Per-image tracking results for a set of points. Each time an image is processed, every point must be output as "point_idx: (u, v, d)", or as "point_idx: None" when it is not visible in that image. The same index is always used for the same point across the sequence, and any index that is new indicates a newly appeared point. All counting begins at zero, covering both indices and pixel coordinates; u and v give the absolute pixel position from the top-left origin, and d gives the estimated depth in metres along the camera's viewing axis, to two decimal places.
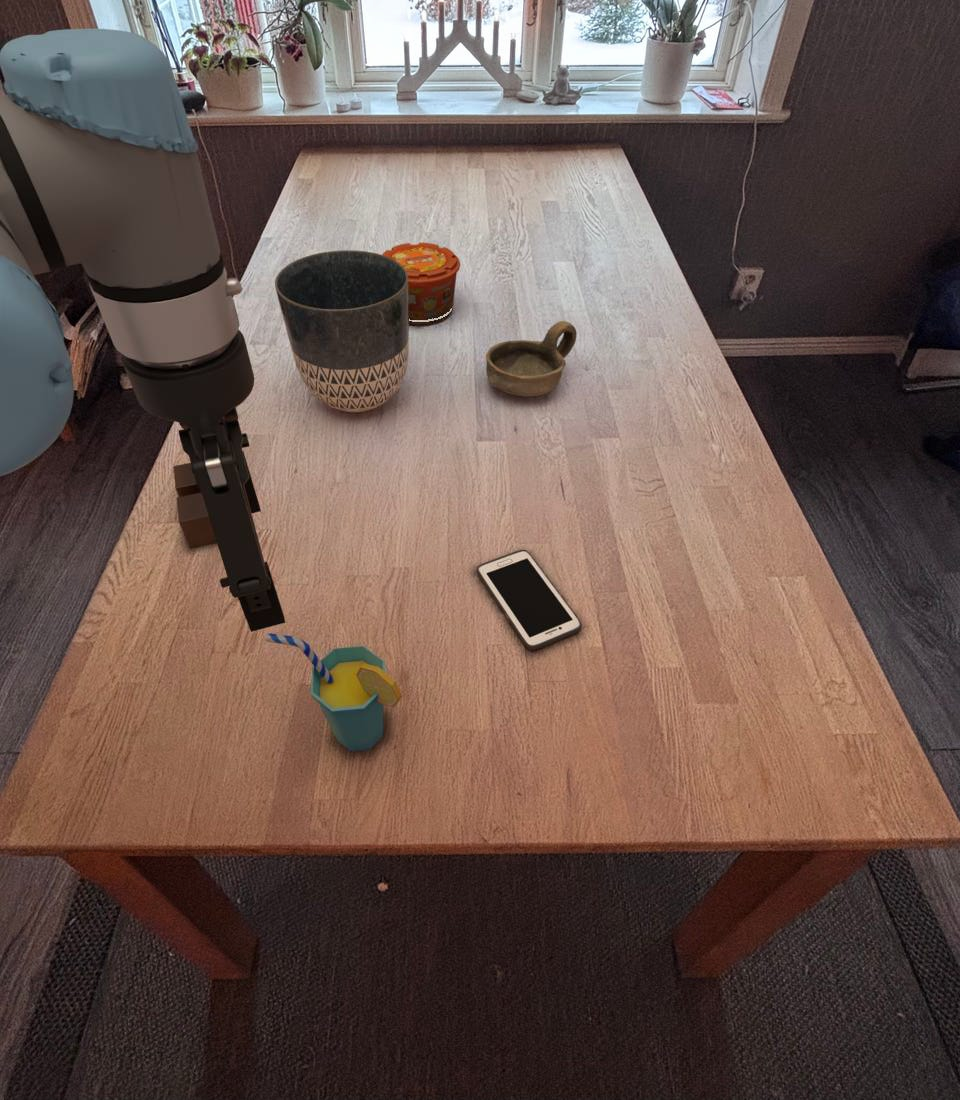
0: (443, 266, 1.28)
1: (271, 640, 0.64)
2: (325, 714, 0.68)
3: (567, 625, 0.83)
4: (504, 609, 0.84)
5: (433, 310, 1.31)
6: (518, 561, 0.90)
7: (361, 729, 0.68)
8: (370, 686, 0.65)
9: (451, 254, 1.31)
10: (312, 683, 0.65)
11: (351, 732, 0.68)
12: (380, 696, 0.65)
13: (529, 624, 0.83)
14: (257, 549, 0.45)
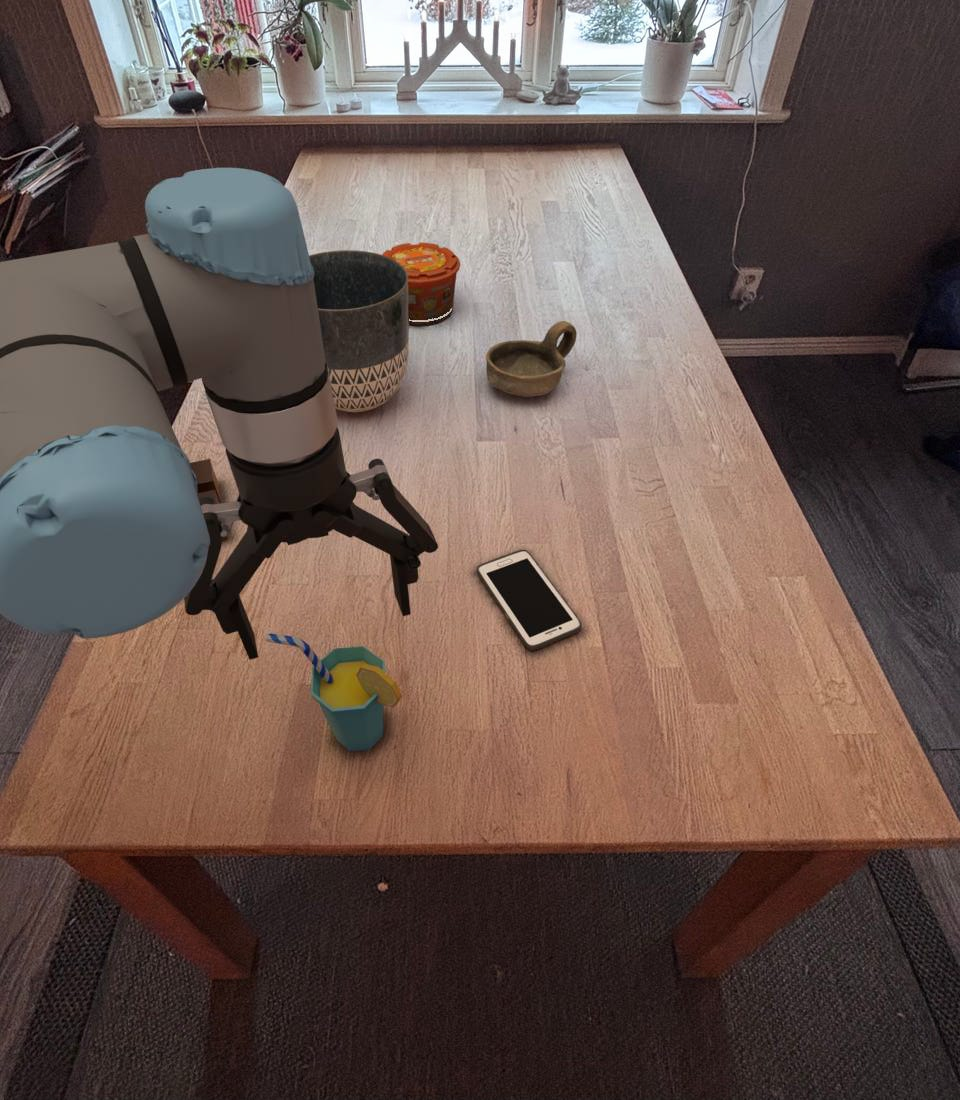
0: (443, 266, 1.28)
1: (271, 640, 0.64)
2: (325, 714, 0.68)
3: (567, 625, 0.83)
4: (504, 609, 0.84)
5: (433, 310, 1.31)
6: (518, 561, 0.90)
7: (361, 729, 0.68)
8: (370, 686, 0.65)
9: (451, 254, 1.31)
10: (312, 683, 0.65)
11: (351, 733, 0.68)
12: (380, 696, 0.65)
13: (529, 624, 0.83)
14: (414, 509, 0.56)
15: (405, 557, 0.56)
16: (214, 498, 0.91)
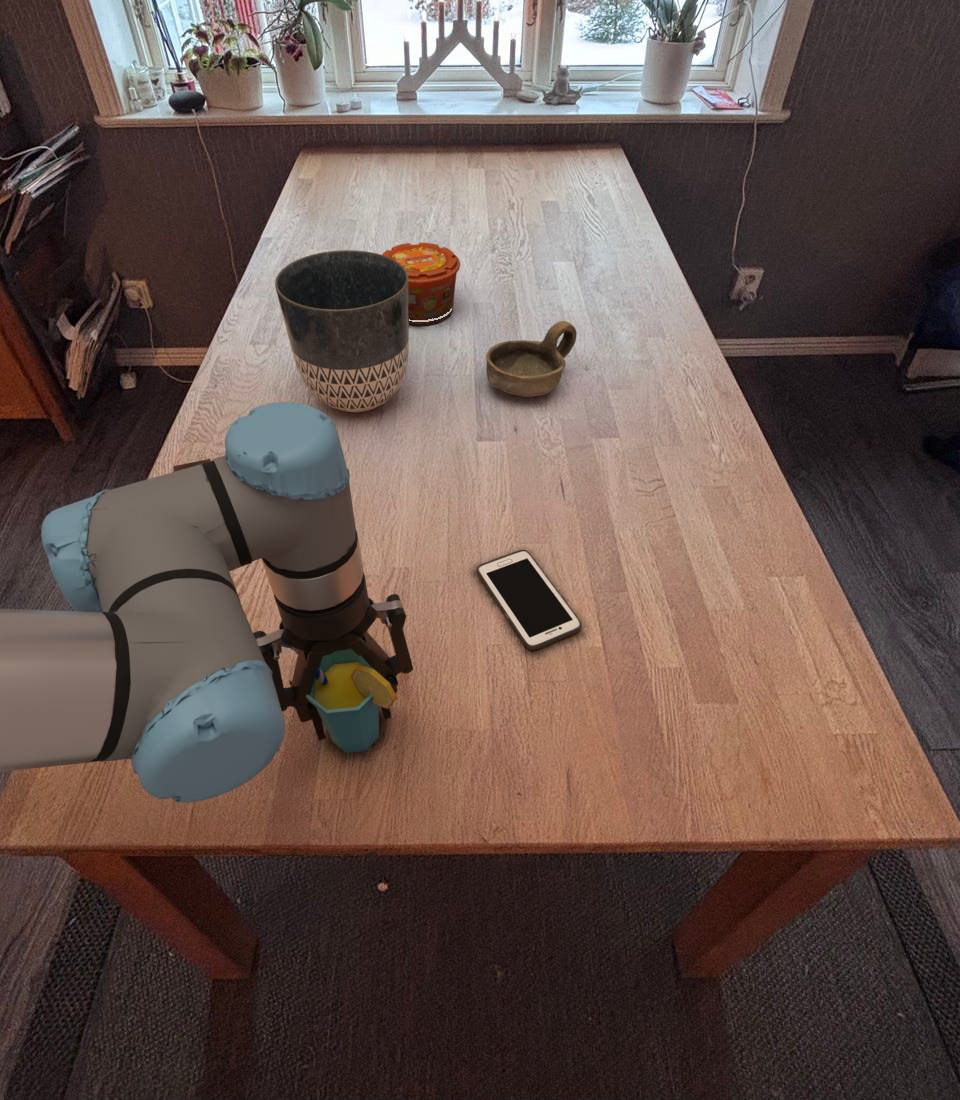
0: (443, 266, 1.28)
1: None
2: (320, 716, 0.68)
3: (567, 625, 0.83)
4: (504, 609, 0.84)
5: (433, 310, 1.31)
6: (518, 561, 0.90)
7: (356, 730, 0.68)
8: (365, 687, 0.65)
9: (451, 254, 1.31)
10: None
11: (347, 734, 0.68)
12: (375, 697, 0.65)
13: (529, 624, 0.83)
14: None
15: (386, 677, 0.67)
16: None
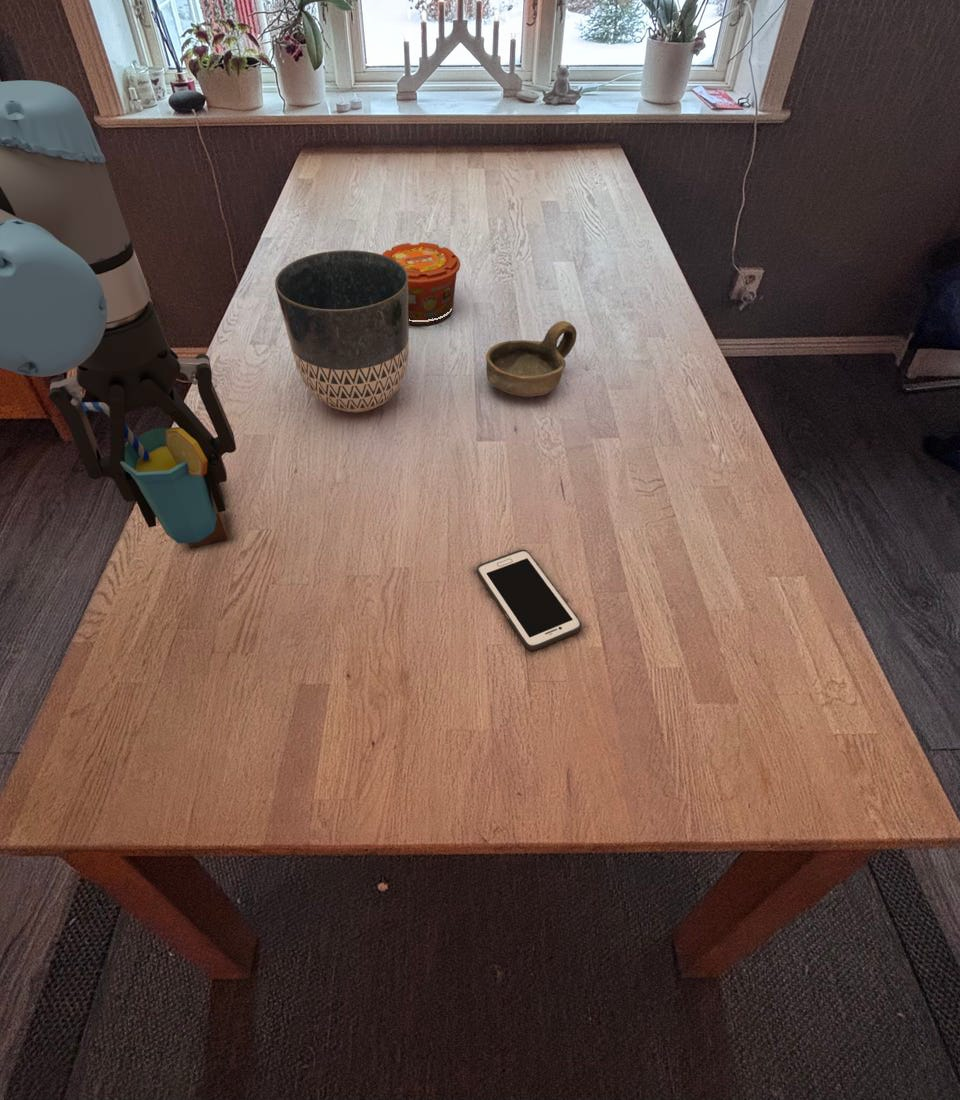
0: (443, 266, 1.28)
1: None
2: (143, 493, 0.68)
3: (567, 625, 0.83)
4: (504, 609, 0.84)
5: (433, 310, 1.31)
6: (518, 561, 0.90)
7: (179, 508, 0.68)
8: (179, 455, 0.65)
9: (451, 254, 1.31)
10: None
11: (170, 513, 0.69)
12: (189, 465, 0.65)
13: (529, 624, 0.83)
14: (224, 412, 0.68)
15: (208, 453, 0.68)
16: None
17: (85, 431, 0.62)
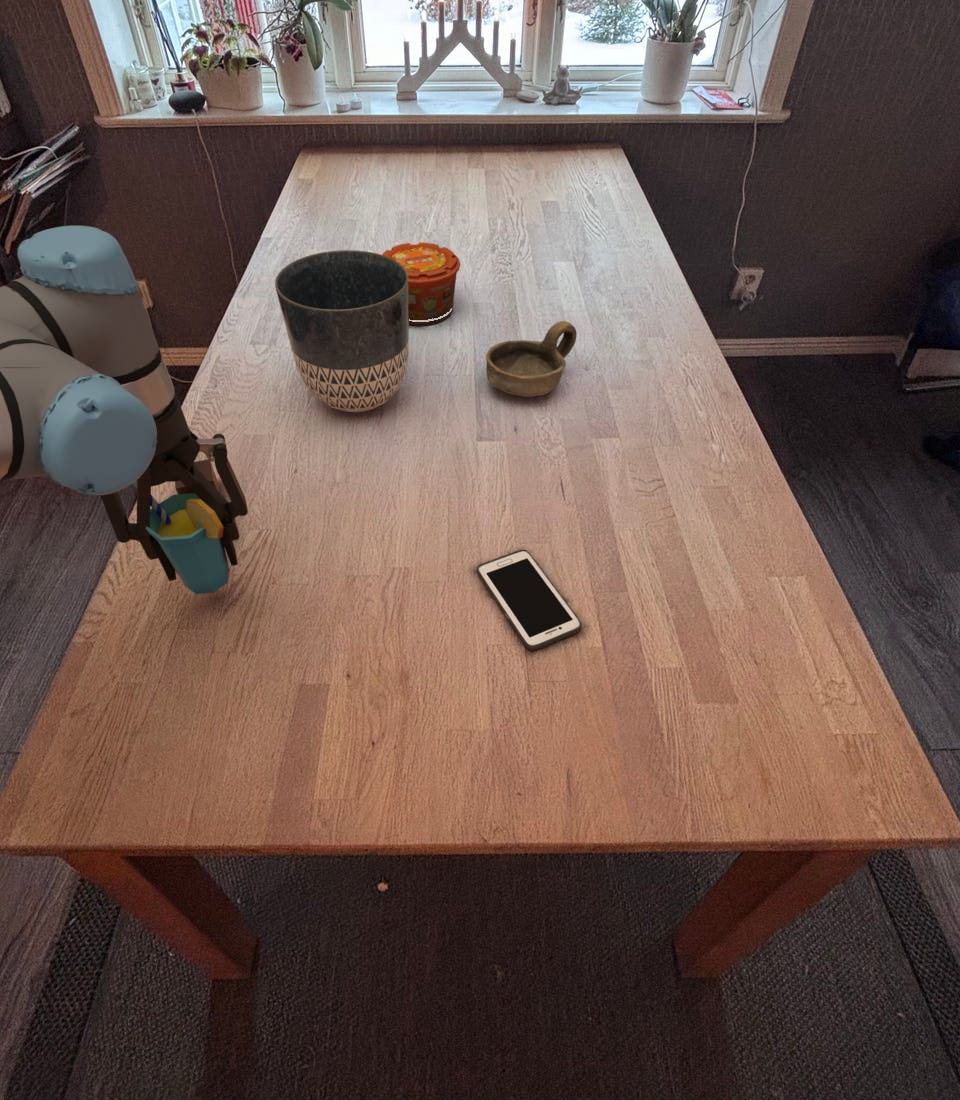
0: (443, 266, 1.28)
1: None
2: (165, 552, 0.76)
3: (567, 625, 0.83)
4: (504, 609, 0.84)
5: (433, 310, 1.31)
6: (518, 561, 0.90)
7: (197, 566, 0.76)
8: (198, 521, 0.73)
9: (451, 254, 1.31)
10: None
11: (189, 570, 0.77)
12: (207, 529, 0.73)
13: (529, 624, 0.83)
14: (237, 481, 0.76)
15: (223, 517, 0.76)
16: None
17: (116, 503, 0.70)
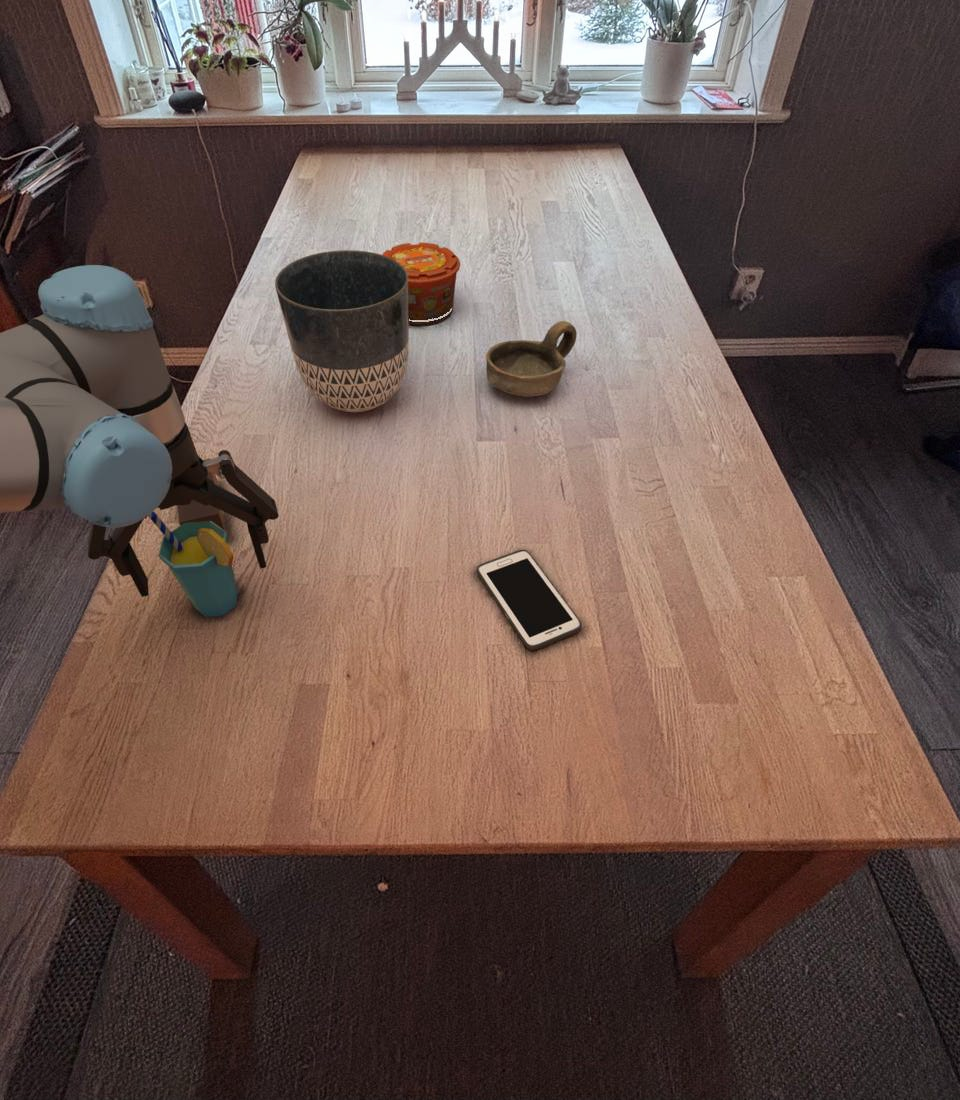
0: (443, 266, 1.28)
1: None
2: (177, 578, 0.80)
3: (567, 625, 0.83)
4: (504, 609, 0.84)
5: (433, 310, 1.31)
6: (518, 561, 0.90)
7: (208, 591, 0.80)
8: (209, 549, 0.77)
9: (451, 254, 1.31)
10: (160, 547, 0.77)
11: (200, 595, 0.80)
12: (217, 557, 0.77)
13: (529, 624, 0.83)
14: (260, 487, 0.78)
15: (253, 522, 0.78)
16: None
17: None
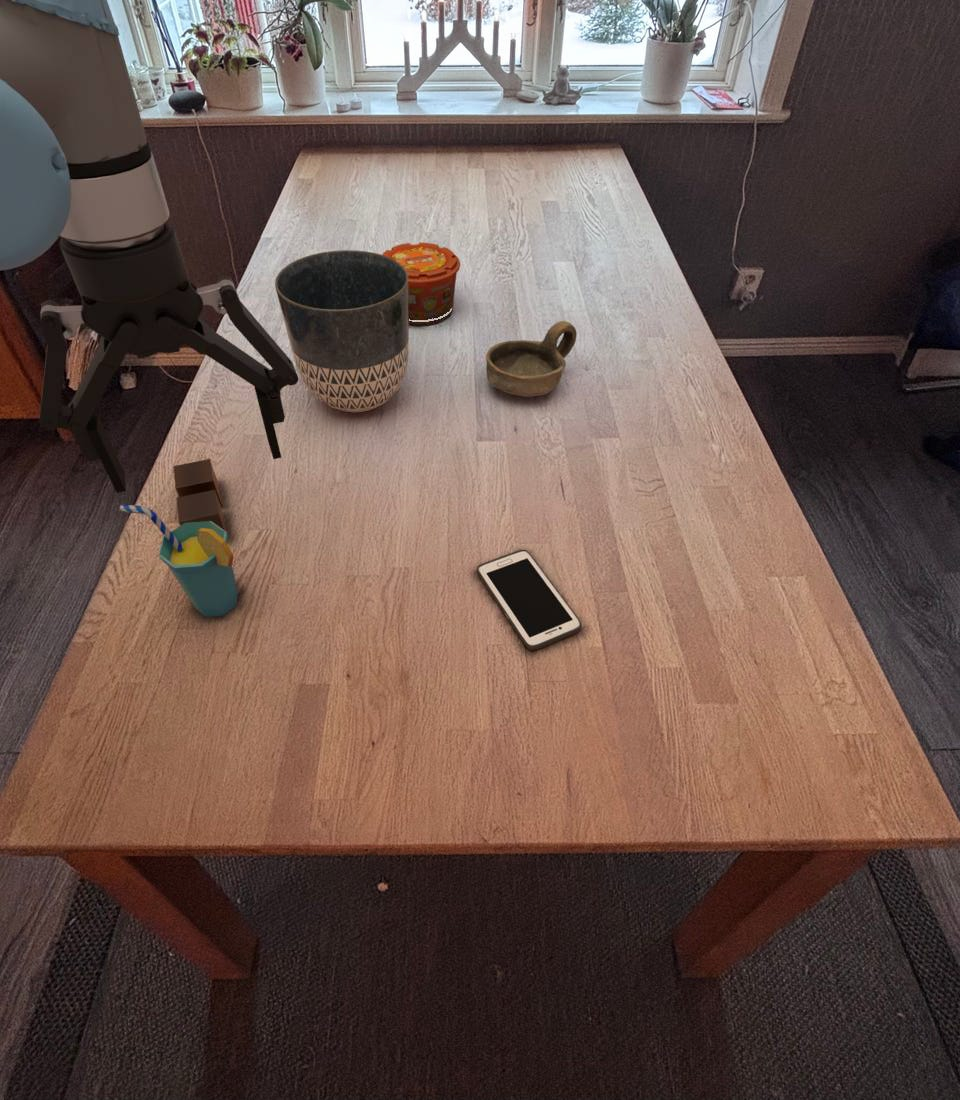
0: (443, 266, 1.28)
1: (124, 510, 0.76)
2: (177, 578, 0.80)
3: (567, 625, 0.83)
4: (504, 609, 0.84)
5: (433, 310, 1.31)
6: (518, 561, 0.90)
7: (208, 591, 0.80)
8: (209, 549, 0.76)
9: (451, 254, 1.31)
10: (160, 547, 0.77)
11: (200, 595, 0.80)
12: (217, 557, 0.77)
13: (529, 624, 0.83)
14: (273, 340, 0.58)
15: (265, 387, 0.58)
16: (214, 498, 0.91)
17: (62, 372, 0.51)
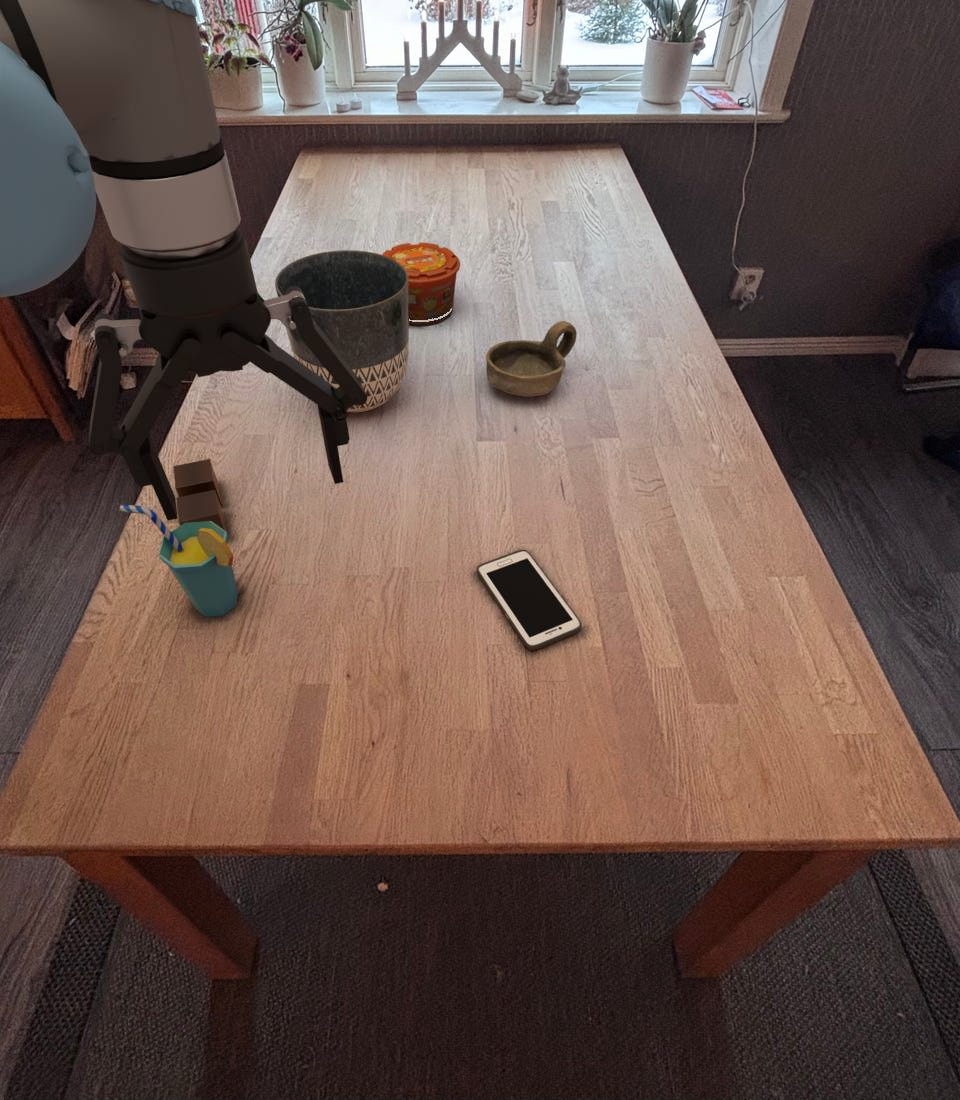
0: (443, 266, 1.28)
1: (124, 510, 0.76)
2: (177, 578, 0.80)
3: (567, 625, 0.83)
4: (504, 609, 0.84)
5: (433, 310, 1.31)
6: (518, 561, 0.90)
7: (208, 591, 0.80)
8: (209, 549, 0.76)
9: (451, 254, 1.31)
10: (160, 547, 0.77)
11: (200, 595, 0.80)
12: (217, 557, 0.77)
13: (529, 624, 0.83)
14: (341, 356, 0.53)
15: (331, 408, 0.53)
16: (214, 498, 0.91)
17: (116, 392, 0.46)
